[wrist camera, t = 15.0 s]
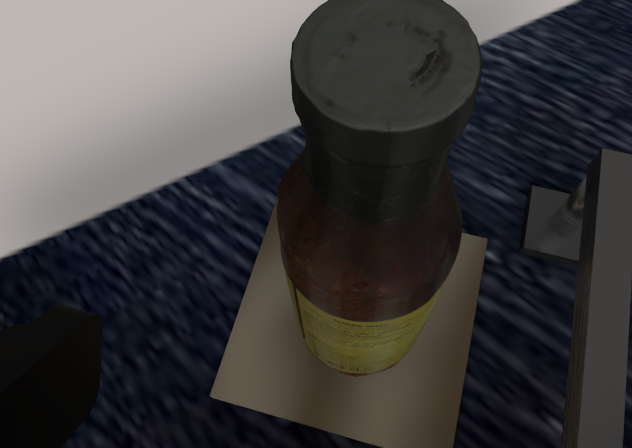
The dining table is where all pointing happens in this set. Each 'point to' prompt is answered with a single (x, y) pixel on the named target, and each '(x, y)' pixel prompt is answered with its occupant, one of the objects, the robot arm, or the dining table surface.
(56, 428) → the robot arm
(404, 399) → the birch pad
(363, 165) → the sauce bottle
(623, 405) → the grey bar handle
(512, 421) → the dining table surface
